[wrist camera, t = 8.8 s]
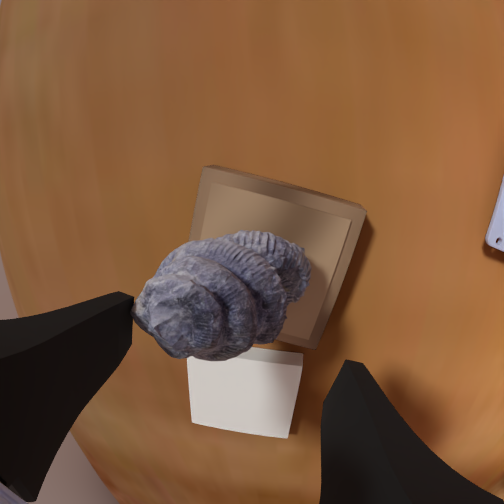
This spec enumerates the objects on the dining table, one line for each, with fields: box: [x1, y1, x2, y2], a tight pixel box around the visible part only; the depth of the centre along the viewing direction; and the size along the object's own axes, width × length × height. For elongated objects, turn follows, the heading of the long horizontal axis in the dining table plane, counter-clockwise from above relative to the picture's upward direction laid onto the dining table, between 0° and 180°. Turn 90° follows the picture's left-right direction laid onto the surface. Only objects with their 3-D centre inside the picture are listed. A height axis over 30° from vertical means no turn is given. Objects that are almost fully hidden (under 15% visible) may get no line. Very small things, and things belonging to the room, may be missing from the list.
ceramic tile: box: [187, 347, 303, 438], centre depth 23 cm, size 8×8×2 cm
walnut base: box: [189, 165, 367, 350], centre depth 19 cm, size 9×9×2 cm
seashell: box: [130, 230, 312, 361], centre depth 13 cm, size 5×5×10 cm
